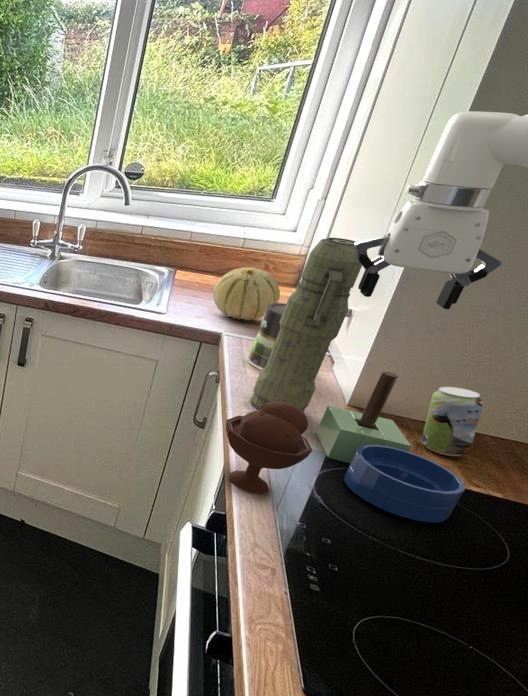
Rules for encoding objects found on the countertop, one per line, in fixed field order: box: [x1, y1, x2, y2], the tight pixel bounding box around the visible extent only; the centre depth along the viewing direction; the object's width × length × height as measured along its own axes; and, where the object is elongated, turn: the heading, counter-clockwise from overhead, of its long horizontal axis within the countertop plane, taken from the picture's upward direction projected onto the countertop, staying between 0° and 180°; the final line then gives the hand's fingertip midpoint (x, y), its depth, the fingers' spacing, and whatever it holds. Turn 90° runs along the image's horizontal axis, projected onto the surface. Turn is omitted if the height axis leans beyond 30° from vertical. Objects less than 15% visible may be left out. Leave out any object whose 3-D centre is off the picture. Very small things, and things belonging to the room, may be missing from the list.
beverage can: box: [420, 386, 484, 457], centre depth 104 cm, size 6×7×12 cm
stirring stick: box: [358, 371, 399, 429], centre depth 101 cm, size 2×2×16 cm
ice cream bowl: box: [225, 401, 313, 496], centre depth 92 cm, size 11×11×15 cm
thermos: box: [249, 237, 363, 414], centre depth 111 cm, size 9×12×35 cm
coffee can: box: [247, 302, 287, 371], centre depth 133 cm, size 10×10×14 cm
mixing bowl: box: [343, 445, 466, 524], centre depth 91 cm, size 12×12×6 cm
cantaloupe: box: [212, 267, 281, 321], centre depth 161 cm, size 15×15×15 cm
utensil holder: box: [315, 405, 412, 464], centre depth 103 cm, size 9×9×6 cm
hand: (402, 300), depth 96 cm, fingers open, 9 cm apart
